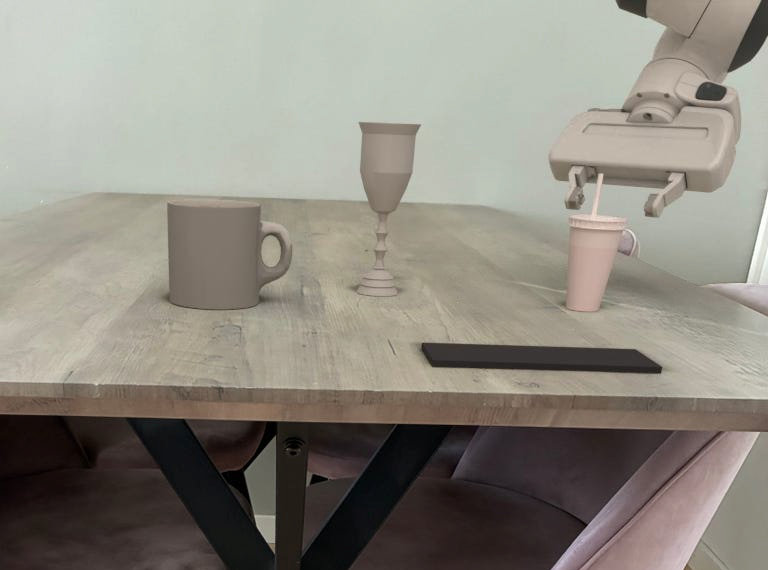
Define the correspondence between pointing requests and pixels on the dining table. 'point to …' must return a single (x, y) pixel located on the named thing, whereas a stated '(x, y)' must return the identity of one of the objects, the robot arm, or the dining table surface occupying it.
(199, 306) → the coffee mug
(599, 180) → the smoothie
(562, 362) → the edge strip
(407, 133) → the chalice
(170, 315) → the dining table surface
